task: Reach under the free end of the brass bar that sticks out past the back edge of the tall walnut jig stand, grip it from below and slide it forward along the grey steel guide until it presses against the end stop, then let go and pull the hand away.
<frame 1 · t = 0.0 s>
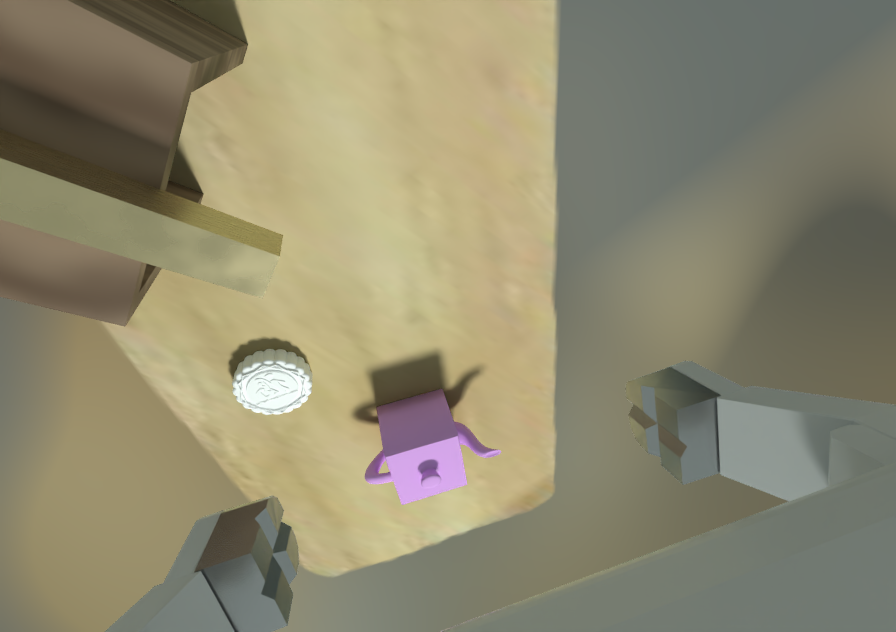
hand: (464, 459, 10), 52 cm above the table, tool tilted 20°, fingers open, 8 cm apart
jig stand: (130, 91, 45), on the table
mooncake: (274, 375, 71), on the table
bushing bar: (100, 193, 27), point 26 cm above the table, touching jig stand
teapot: (421, 420, 86), on the table
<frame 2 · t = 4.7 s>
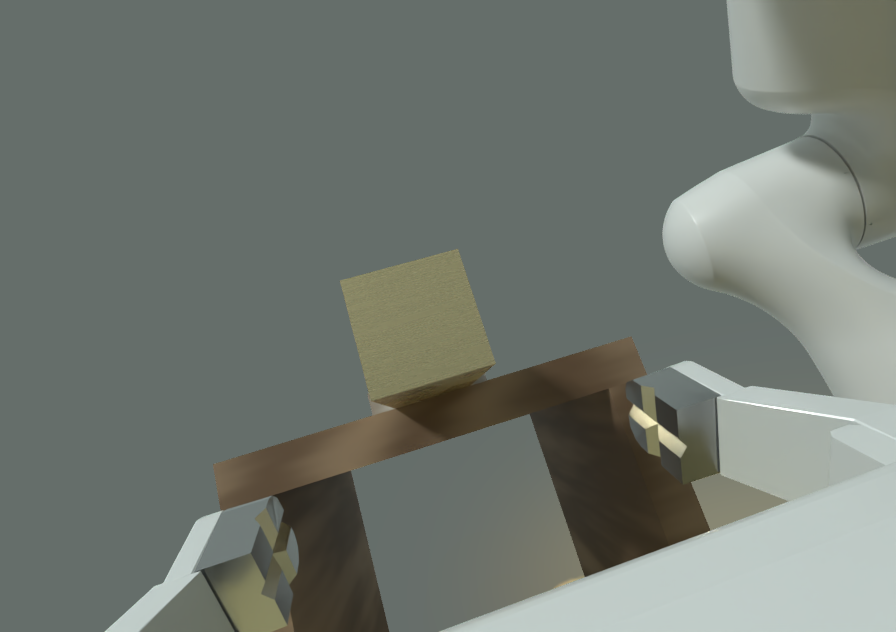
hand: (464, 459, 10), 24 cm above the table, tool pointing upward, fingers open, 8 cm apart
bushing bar: (433, 399, 22), point 26 cm above the table, touching jig stand
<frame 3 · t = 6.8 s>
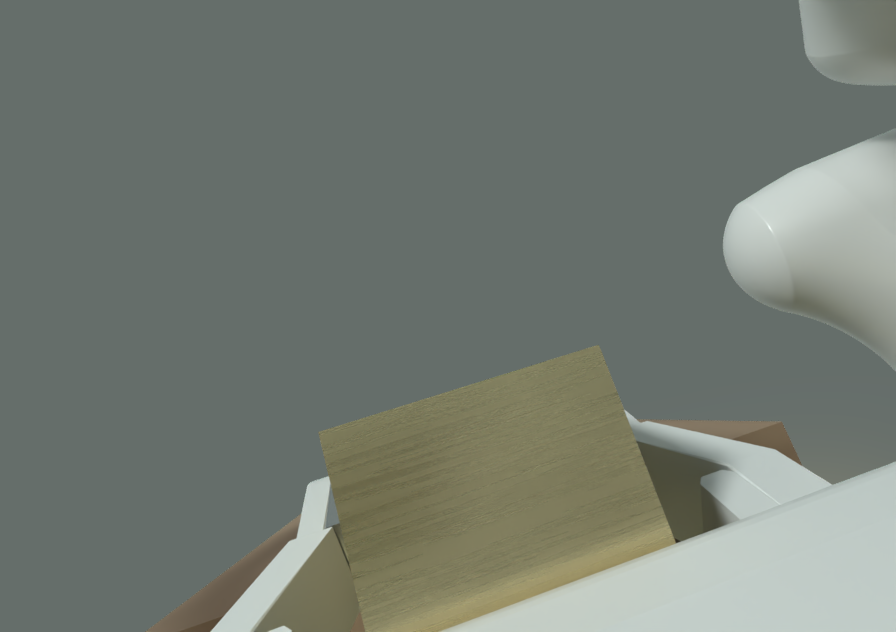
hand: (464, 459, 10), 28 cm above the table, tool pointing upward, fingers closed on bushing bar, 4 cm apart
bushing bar: (469, 505, 15), point 26 cm above the table, touching gripper, jig stand
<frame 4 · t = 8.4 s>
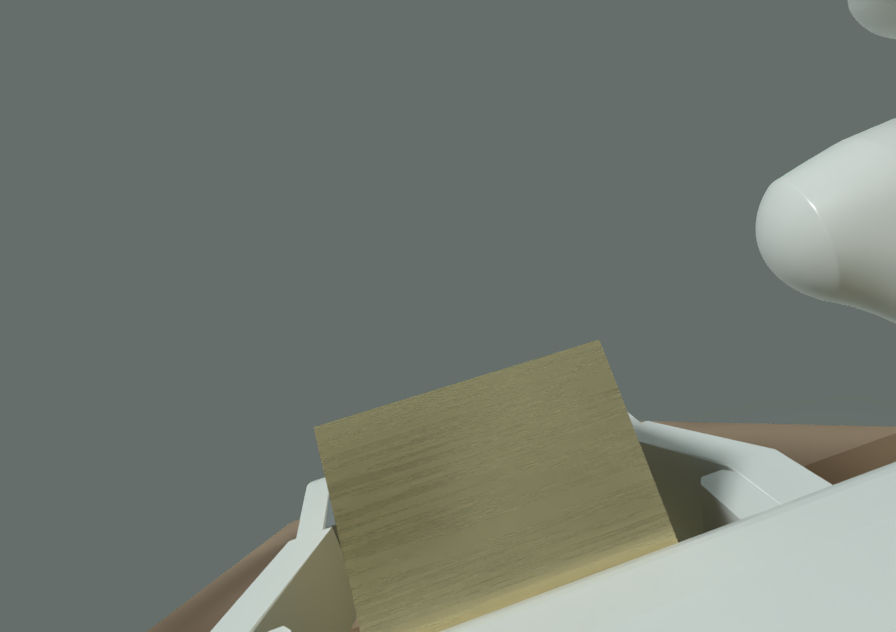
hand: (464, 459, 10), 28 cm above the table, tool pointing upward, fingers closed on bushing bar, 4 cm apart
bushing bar: (470, 505, 15), point 26 cm above the table, touching gripper
when the fingers open (28 cm above the table, at t = 9.8 s): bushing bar stays where it is, resting on jig stand.
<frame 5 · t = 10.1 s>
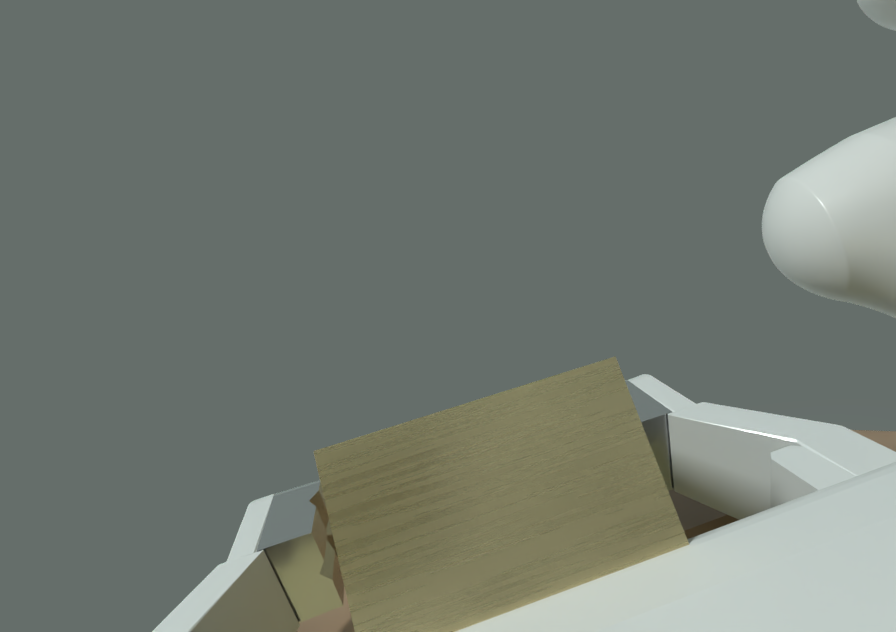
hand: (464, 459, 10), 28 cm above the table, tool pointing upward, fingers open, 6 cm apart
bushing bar: (473, 512, 15), point 26 cm above the table, touching jig stand
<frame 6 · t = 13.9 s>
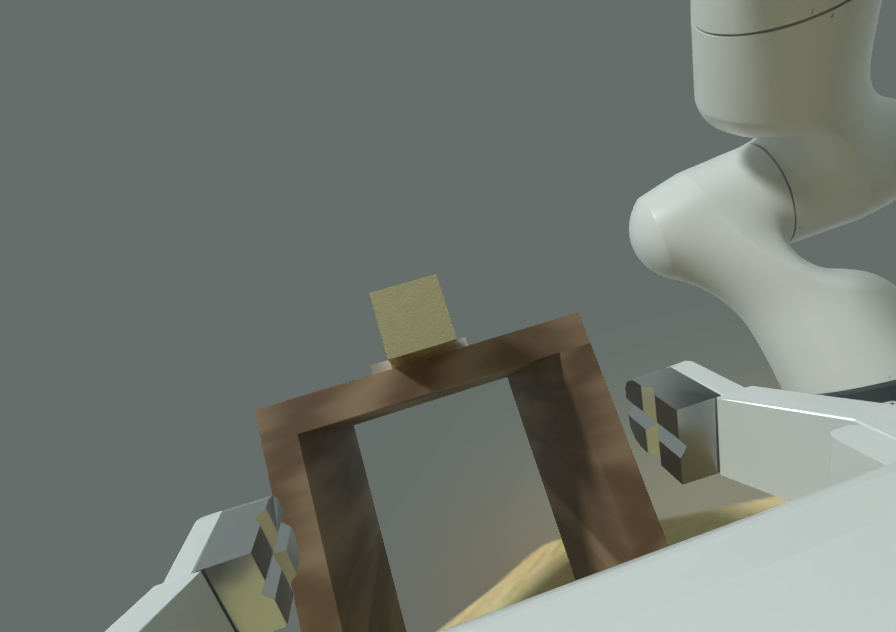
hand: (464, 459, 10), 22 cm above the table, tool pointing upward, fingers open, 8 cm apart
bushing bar: (425, 370, 32), point 26 cm above the table, touching jig stand
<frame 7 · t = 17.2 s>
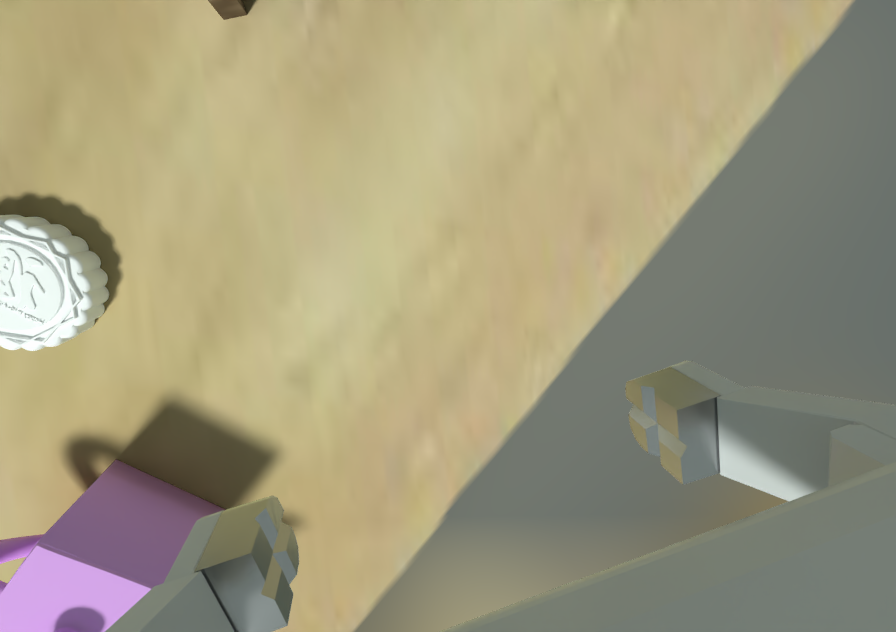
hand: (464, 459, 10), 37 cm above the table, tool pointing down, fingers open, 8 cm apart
mooncake: (39, 279, 40), on the table
teapot: (148, 537, 49), on the table
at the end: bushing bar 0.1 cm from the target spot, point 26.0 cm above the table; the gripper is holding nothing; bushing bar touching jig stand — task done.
